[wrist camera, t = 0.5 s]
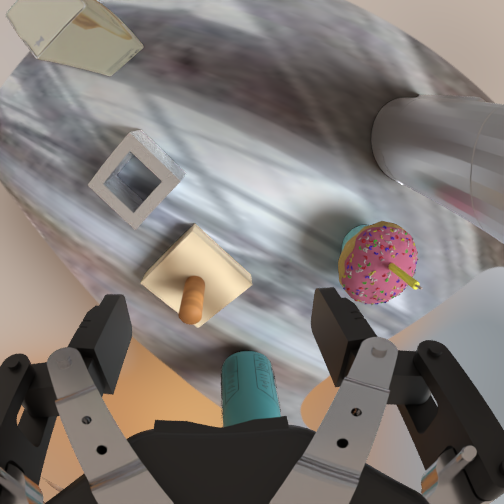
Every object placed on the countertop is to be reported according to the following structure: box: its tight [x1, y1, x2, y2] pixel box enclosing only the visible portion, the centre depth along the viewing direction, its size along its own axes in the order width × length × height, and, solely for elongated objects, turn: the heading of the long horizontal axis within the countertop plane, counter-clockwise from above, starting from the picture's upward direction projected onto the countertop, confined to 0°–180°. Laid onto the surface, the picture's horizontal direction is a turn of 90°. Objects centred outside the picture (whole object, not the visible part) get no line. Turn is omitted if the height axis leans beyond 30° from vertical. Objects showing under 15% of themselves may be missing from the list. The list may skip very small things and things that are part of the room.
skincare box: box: [6, 0, 144, 77], centre depth 14 cm, size 6×4×12 cm
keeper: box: [141, 224, 252, 328], centre depth 28 cm, size 8×8×7 cm
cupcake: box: [338, 221, 422, 305], centre depth 26 cm, size 9×8×12 cm
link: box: [88, 130, 186, 230], centre depth 24 cm, size 6×6×4 cm
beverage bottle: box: [221, 351, 281, 427], centre depth 28 cm, size 6×7×20 cm
